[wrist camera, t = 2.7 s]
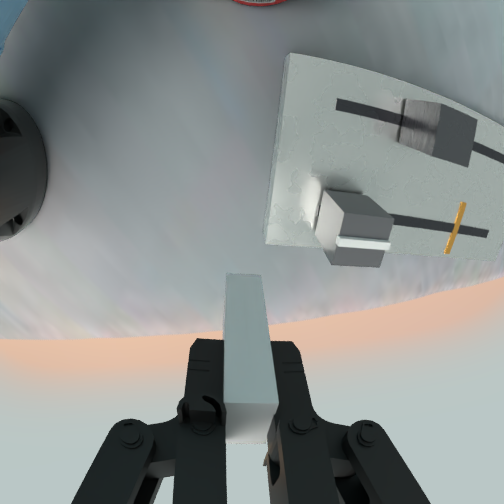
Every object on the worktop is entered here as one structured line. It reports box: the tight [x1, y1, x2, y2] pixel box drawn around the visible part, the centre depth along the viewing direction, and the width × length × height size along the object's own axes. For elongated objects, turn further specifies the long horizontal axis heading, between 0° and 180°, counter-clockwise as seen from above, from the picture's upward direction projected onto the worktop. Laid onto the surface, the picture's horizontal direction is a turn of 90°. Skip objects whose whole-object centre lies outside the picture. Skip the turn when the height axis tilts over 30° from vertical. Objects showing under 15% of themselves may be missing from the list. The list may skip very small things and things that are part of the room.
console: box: [263, 53, 504, 262], centre depth 23 cm, size 30×16×8 cm, turn 84°
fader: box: [315, 190, 394, 268], centre depth 23 cm, size 4×4×5 cm
